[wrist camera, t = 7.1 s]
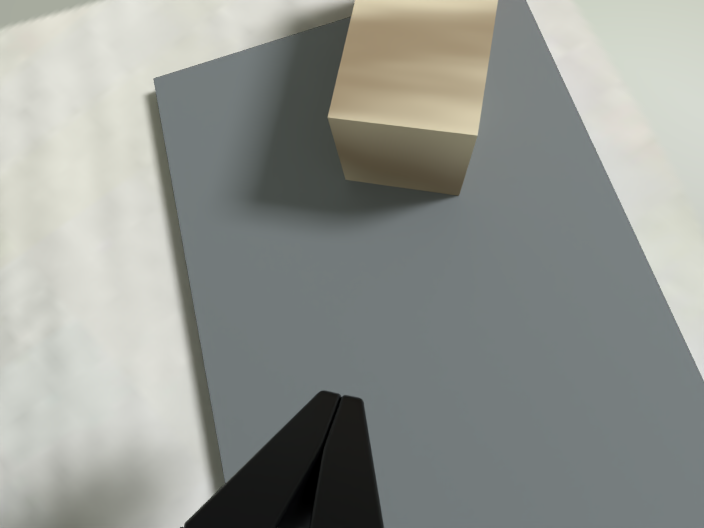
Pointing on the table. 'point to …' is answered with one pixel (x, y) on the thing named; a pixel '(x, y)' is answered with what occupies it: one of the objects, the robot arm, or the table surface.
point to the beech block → (412, 91)
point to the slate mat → (435, 297)
